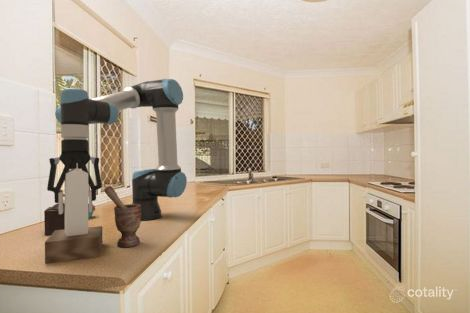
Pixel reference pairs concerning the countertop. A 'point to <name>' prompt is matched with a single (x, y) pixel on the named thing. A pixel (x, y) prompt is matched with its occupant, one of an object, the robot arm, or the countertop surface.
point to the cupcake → (90, 212)
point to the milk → (76, 202)
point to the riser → (73, 245)
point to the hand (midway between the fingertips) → (76, 212)
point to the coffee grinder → (54, 218)
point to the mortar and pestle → (125, 219)
